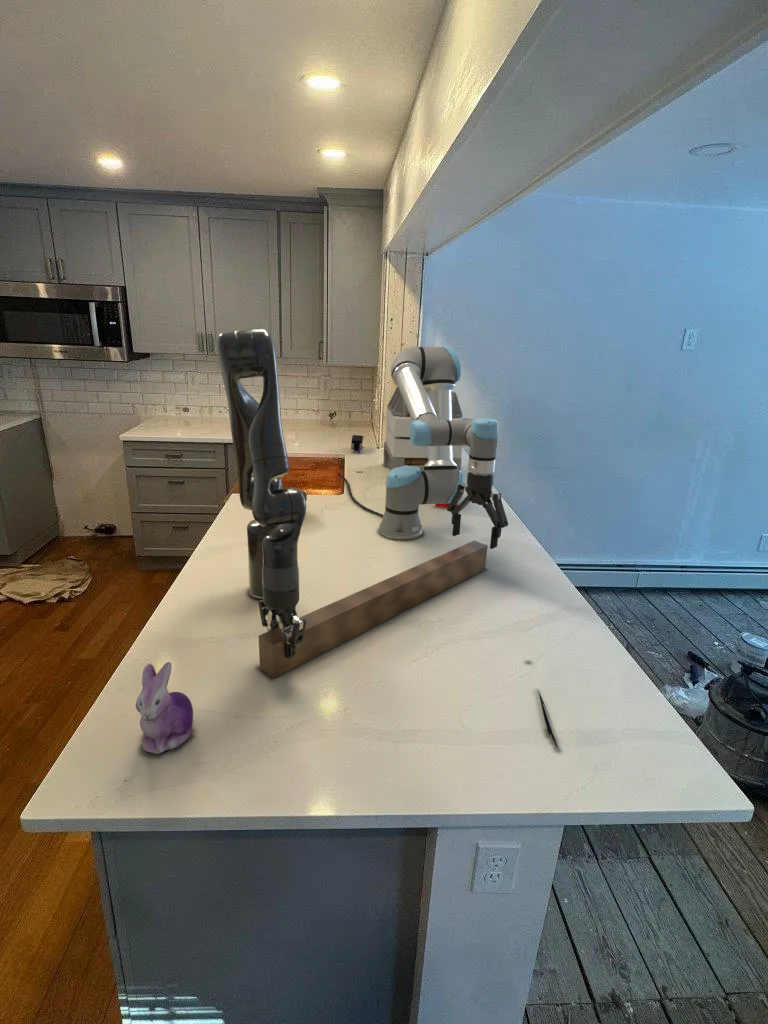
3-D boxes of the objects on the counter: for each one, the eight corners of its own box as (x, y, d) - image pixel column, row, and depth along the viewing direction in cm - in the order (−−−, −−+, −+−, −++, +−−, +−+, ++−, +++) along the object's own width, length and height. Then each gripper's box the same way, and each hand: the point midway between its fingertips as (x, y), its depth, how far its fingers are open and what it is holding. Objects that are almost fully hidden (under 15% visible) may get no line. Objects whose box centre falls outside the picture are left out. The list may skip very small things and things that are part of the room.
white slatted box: (382, 463, 289) (386, 382, 275) (445, 464, 293) (451, 384, 279) (390, 482, 257) (394, 392, 243) (460, 483, 261) (468, 394, 247)
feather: (529, 666, 130) (534, 660, 129) (557, 753, 103) (564, 745, 103) (523, 662, 130) (528, 656, 129) (550, 748, 103) (556, 741, 103)
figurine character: (362, 456, 306) (363, 447, 319) (363, 443, 302) (363, 434, 316) (350, 456, 306) (351, 446, 319) (350, 442, 302) (351, 433, 316)
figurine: (143, 764, 96) (134, 690, 91) (137, 726, 105) (128, 657, 100) (201, 747, 100) (195, 676, 95) (190, 712, 109) (184, 645, 104)
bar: (471, 564, 179) (474, 540, 176) (485, 569, 175) (487, 545, 173) (259, 667, 123) (258, 635, 121) (273, 678, 120) (272, 645, 117)
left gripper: (245, 575, 120) (248, 644, 125) (287, 599, 111) (288, 673, 116) (274, 565, 125) (276, 632, 131) (317, 587, 116) (317, 658, 122)
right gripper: (438, 466, 169) (433, 532, 176) (511, 484, 153) (503, 556, 160) (453, 462, 174) (448, 527, 181) (525, 479, 158) (517, 549, 165)
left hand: (282, 651), depth 123 cm, fingers closed on bar, 5 cm apart
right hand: (474, 541), depth 170 cm, fingers open, 13 cm apart
